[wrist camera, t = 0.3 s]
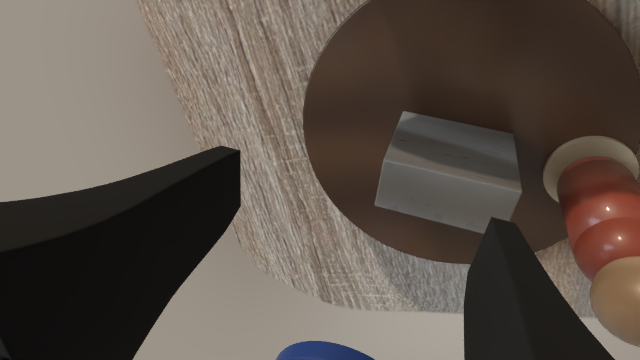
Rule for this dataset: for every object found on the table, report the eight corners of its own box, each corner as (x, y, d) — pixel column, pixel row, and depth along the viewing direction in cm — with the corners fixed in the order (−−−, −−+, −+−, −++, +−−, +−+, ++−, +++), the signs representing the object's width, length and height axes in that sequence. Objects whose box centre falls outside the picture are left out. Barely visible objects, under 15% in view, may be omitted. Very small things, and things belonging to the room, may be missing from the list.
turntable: (559, 282, 23) (602, 483, 15) (301, 212, 27) (220, 345, 18) (727, -8, 15) (1027, 82, 7) (322, -59, 18) (192, -39, 10)
